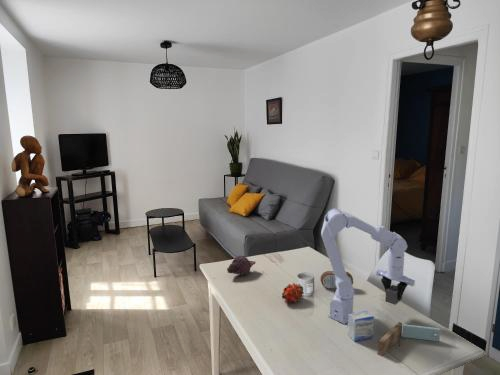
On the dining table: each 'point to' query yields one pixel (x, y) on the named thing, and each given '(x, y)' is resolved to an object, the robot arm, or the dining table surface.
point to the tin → (332, 279)
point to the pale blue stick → (421, 332)
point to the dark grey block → (392, 295)
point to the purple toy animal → (240, 265)
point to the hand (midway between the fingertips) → (393, 297)
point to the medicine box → (360, 325)
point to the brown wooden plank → (389, 339)
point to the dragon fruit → (293, 293)
